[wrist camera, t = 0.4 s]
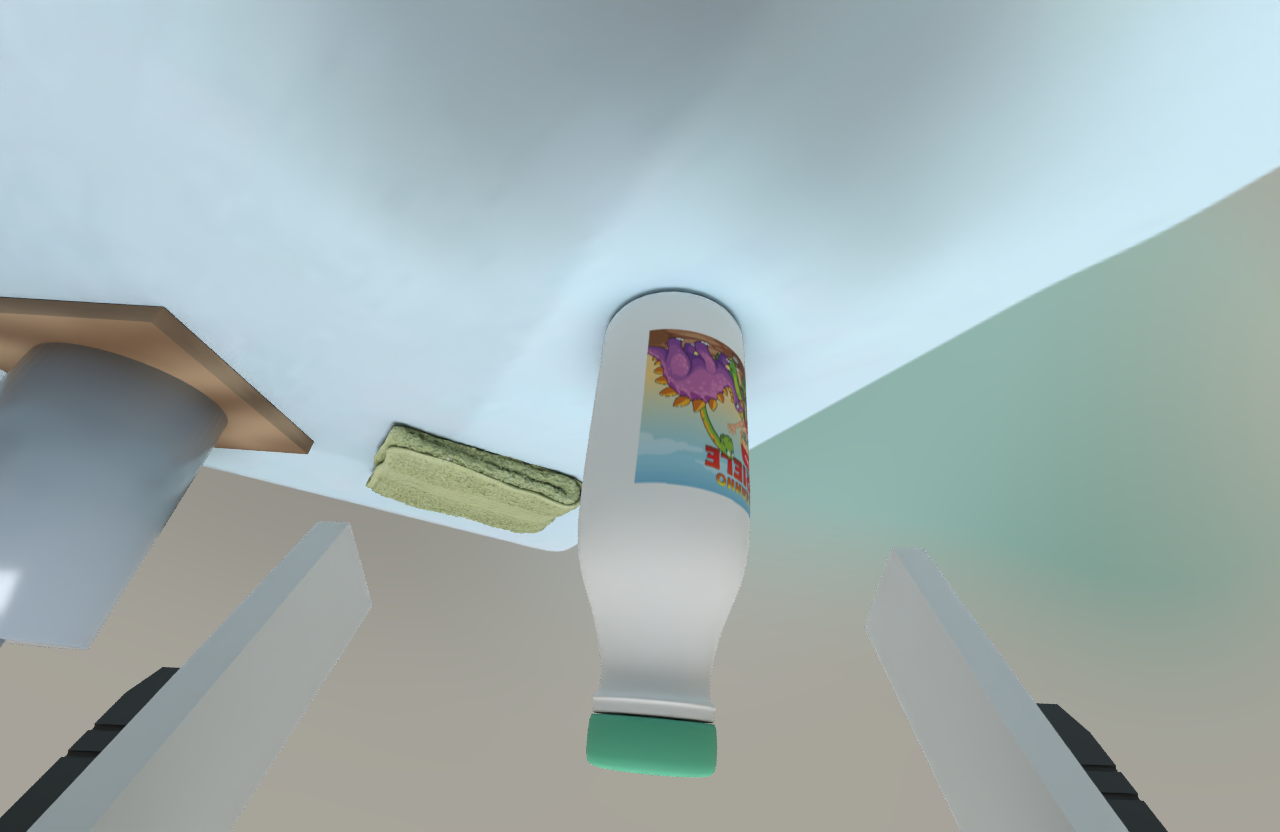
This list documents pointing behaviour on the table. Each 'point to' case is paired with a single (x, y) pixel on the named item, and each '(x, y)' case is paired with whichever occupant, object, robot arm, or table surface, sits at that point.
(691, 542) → the milk bottle
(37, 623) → the soap dispenser
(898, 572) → the robot arm
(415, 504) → the washcloth
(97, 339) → the walnut board
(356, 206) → the table surface
